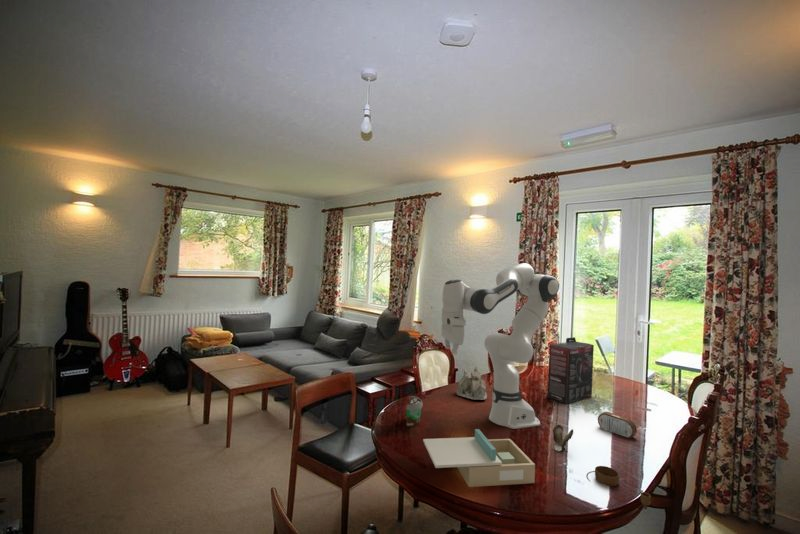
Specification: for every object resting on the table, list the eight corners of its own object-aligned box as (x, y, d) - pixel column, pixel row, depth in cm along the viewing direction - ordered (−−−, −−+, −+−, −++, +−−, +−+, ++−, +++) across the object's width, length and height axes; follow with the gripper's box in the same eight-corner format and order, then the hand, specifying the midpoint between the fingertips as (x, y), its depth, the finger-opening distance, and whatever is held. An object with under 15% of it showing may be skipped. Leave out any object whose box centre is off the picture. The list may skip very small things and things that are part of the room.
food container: (419, 430, 158) (420, 406, 158) (405, 428, 159) (406, 404, 159) (423, 418, 170) (424, 396, 170) (410, 417, 171) (411, 395, 171)
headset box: (572, 390, 219) (574, 334, 219) (593, 397, 208) (595, 338, 208) (546, 397, 205) (548, 337, 205) (567, 405, 195) (569, 341, 195)
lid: (481, 439, 135) (481, 427, 135) (501, 464, 118) (502, 451, 118) (423, 441, 132) (423, 429, 132) (435, 468, 115) (436, 454, 115)
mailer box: (509, 457, 137) (510, 438, 137) (534, 486, 119) (535, 464, 119) (451, 460, 134) (452, 440, 134) (468, 490, 116) (469, 467, 116)
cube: (496, 465, 129) (496, 452, 129) (508, 465, 130) (508, 452, 130) (501, 472, 125) (502, 459, 125) (514, 472, 126) (514, 458, 126)
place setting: (631, 481, 126) (632, 463, 126) (654, 519, 106) (655, 498, 106) (574, 472, 130) (575, 455, 130) (587, 506, 111) (587, 487, 111)
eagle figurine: (574, 450, 145) (575, 427, 145) (571, 458, 139) (572, 434, 139) (553, 444, 149) (554, 422, 149) (550, 452, 143) (551, 428, 143)
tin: (636, 440, 156) (637, 420, 156) (633, 442, 154) (634, 422, 154) (599, 427, 168) (600, 408, 168) (596, 429, 166) (597, 410, 166)
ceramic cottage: (456, 390, 211) (457, 364, 211) (486, 393, 209) (487, 366, 209) (455, 400, 196) (457, 371, 196) (487, 403, 193) (489, 374, 193)
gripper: (438, 315, 166) (437, 346, 166) (451, 321, 146) (450, 357, 146) (452, 315, 167) (451, 346, 167) (467, 322, 147) (466, 357, 147)
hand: (450, 351), depth 156 cm, fingers open, 8 cm apart
